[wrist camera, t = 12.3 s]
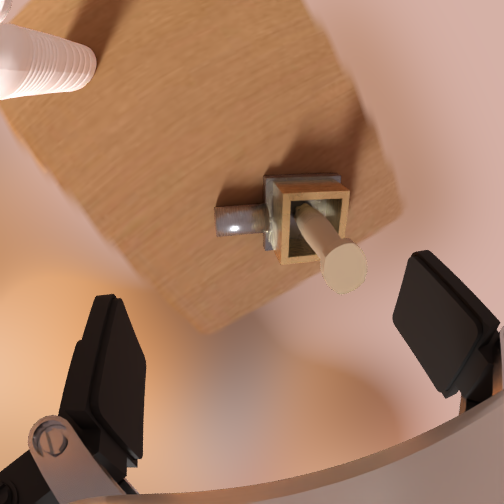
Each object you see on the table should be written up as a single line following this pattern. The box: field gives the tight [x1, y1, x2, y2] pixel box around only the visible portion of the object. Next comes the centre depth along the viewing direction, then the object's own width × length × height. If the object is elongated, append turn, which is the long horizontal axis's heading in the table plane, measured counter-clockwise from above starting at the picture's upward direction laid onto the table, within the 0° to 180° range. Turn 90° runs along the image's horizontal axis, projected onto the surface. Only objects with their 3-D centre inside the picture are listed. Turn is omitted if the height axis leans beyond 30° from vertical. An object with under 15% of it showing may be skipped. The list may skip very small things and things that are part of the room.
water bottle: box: [0, 0, 96, 100], centre depth 19 cm, size 9×6×25 cm
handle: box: [294, 203, 367, 294], centre depth 38 cm, size 5×6×15 cm
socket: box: [214, 173, 350, 265], centre depth 43 cm, size 11×18×6 cm, turn 90°
